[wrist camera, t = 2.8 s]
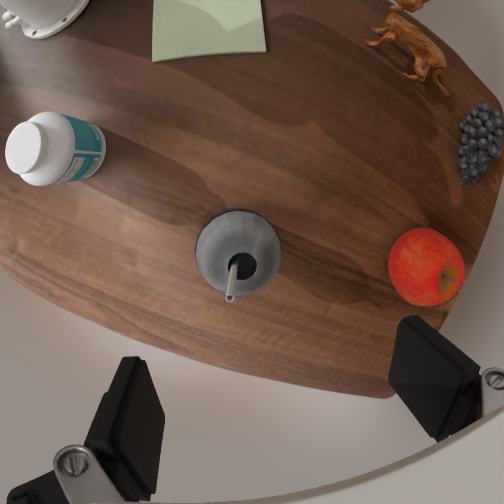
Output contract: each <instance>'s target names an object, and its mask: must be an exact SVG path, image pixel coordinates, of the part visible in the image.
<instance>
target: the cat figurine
mask: <svg viewBox="0 0 504 504" xmlns="http://www.w3.org/2000/svg"><path fill="white" fill-rule="evenodd" d="M395 1H396V2H397V3H398V4H399V5H393V6H390V11H391V13H390V14H389V15H388V17H387V19H386V27H385V28H377V27H375V26H372V27H371V29H372V31H373V32H375V33H377V34H380V35H384V34H385V35H384V36H382V38H381V39H380V41H369V40H368V39H366V40H365V43H366V44H367V45H369V46H371V47H375V48H378V47H381V46H382V45H384V44H385V43H386V42H390V41H394V40H395V39H396V38H397V39H399V40H400V41H401V42H402V43H403V44H405V45H406V46H407V47H408V48H409V50H410V51H411V52H412V53H413V55H414V57H415V65H414V70H415V72H416V75H408V74H407V73H403V75H404V76H405V77H406V78H408V79H412V80H416V81H420V82H425V78H426V75H427V72H428V70H429V68H435V69H434V70H433V72H432V76H431V77H432V80H433V82H434V83H435V85H436V86H437V87H438V88H439V89H440V90H441V91H442V92H443V93H444V94H445V95H447V96H449V93H448V91H447V90H446V89H445V88H444V87H443V86H442V85H441V84H440V83H439V81H438V79H437V75H439V74H440V73H442V72H444V71H445V70H446V66H447V64H446V59H445V56H444V54H443V52H442V51H441V49H440V48H438V47H437V46H436V45H435V44H434V43H433V42H432V40H431V39H430V38H429V37H428V36H427V35H426V34H425V33H424V32H422V31H421V30H420V29H419V28H417V27H416V26H414V25H412V24H411V23H409V22H407V21H406V20H405V19H403V18H402V17H401V16H399V15H398V14H397V13H396V11H403V10H407V11H409V12H412V13H413V12H415V11H416V10H419V9H421V8H422V7H423V4H424V3H425V2H428V1H430V0H395Z"/></svg>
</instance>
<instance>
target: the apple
mask: <svg viewBox="0 0 504 504" xmlns="http://www.w3.org/2000/svg"><path fill="white" fill-rule="evenodd" d="M388 272H389V275H390V279H391V281H392V283H393V285H394V287H395V288H396V290H397V292H398V293H399V294H400V295H401V296H402V297H403V298H404V299H405V300H406V301H407V302H409V303H411V304H413V305H418V306H435V305H438V304H441V303H443V302H445V301H447V300H450V299H451V298H452V296H453V295H454V294H455V293H456V291H457V290H458V288H459V286H460V285H461V283H462V280H463V277H464V273H465V264H464V262H463V259H462V256H461V254H460V252H459V250H458V248H457V247H456V246H455V244H454V243H453V242H452V241H451V240H450V239H448V238H447V237H445V236H444V235H443V234H441V233H439V232H437V231H435V230H433V229H430V228H424V227H422V228H415V229H410V230H409V231H407V232H405V233H404V234H402V235H401V236H400V237H399V238H398V239H397V240H396V241H395V242H394V244H393V246H392V248H391V250H390V251H389V257H388Z"/></svg>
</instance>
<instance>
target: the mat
mask: <svg viewBox="0 0 504 504" xmlns="http://www.w3.org/2000/svg"><path fill="white" fill-rule="evenodd" d="M234 53H266V45H265V36H264V27H263V19H262V11H261V3H260V0H154V7H153V37H152V61H153V63H154V62H160V61H166V60H173V59H180V58H187V57H196V56H206V55H218V54H234Z"/></svg>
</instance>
